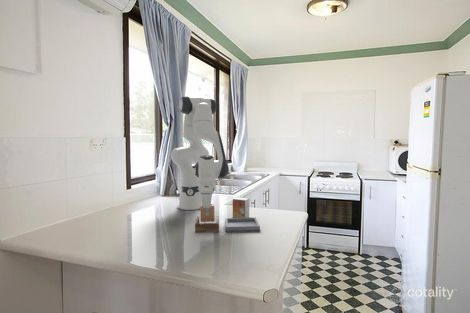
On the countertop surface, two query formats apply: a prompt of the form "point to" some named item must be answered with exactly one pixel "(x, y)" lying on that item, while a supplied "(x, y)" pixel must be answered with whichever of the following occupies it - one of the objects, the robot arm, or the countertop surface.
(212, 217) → the tan wooden block
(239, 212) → the small box
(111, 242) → the countertop surface
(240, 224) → the grey tray
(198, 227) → the walnut bay
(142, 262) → the countertop surface
